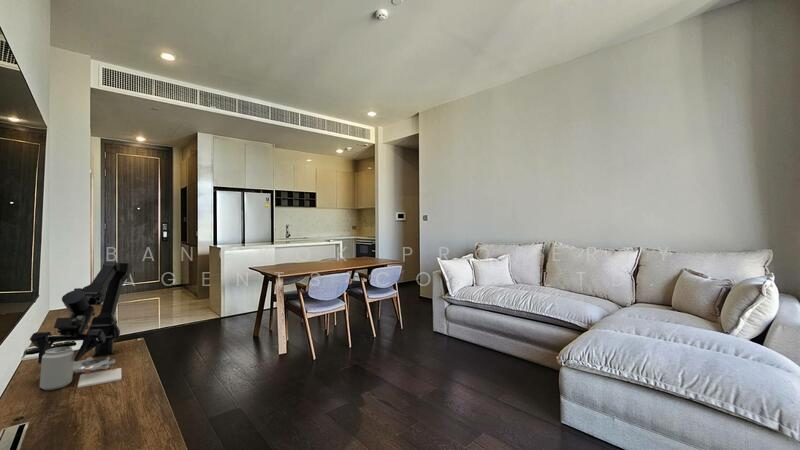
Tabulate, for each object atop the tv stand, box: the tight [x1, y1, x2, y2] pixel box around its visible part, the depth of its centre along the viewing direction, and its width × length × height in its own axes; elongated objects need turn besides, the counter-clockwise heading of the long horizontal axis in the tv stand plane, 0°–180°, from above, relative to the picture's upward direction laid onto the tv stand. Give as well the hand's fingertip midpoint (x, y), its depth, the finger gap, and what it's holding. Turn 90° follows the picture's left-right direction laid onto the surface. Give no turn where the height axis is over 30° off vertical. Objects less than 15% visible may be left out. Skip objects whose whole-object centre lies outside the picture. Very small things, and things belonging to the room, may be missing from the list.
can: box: [39, 346, 75, 391], centre depth 111 cm, size 8×8×12 cm
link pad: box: [77, 367, 122, 389], centre depth 118 cm, size 11×11×1 cm
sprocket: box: [73, 355, 116, 374], centre depth 127 cm, size 16×16×2 cm
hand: (57, 361), depth 111 cm, fingers open, 9 cm apart
